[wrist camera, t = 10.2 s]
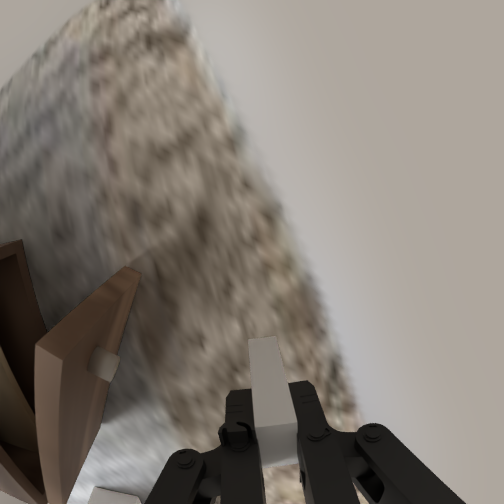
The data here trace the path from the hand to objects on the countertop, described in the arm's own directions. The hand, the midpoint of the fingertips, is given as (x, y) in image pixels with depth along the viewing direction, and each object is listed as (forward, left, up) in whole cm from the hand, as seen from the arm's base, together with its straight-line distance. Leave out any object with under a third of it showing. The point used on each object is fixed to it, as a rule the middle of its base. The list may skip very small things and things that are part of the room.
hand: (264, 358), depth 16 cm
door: (-11, -3, -3) cm, 12 cm away
